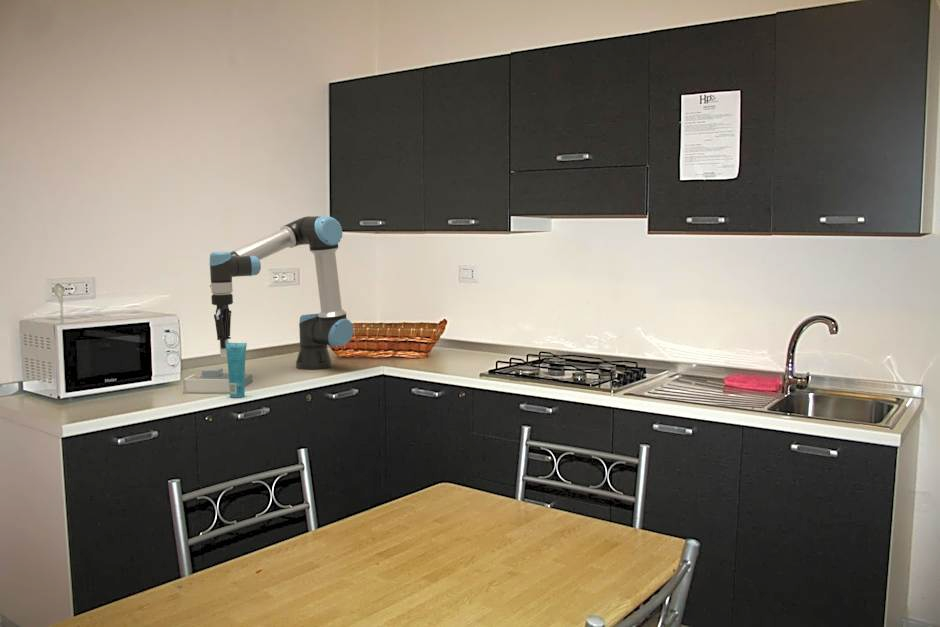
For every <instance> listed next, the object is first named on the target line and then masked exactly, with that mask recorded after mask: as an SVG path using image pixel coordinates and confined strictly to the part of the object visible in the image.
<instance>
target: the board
mask: <svg viewBox="0 0 940 627" xmlns="http://www.w3.org/2000/svg"><path fill="white" fill-rule="evenodd" d="M196 379H229V373H223V375H221V376H219V377H202V375H201V376H198V377H196ZM251 383H253V373H245V387H246V386H248V385H249V384H251Z"/></svg>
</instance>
